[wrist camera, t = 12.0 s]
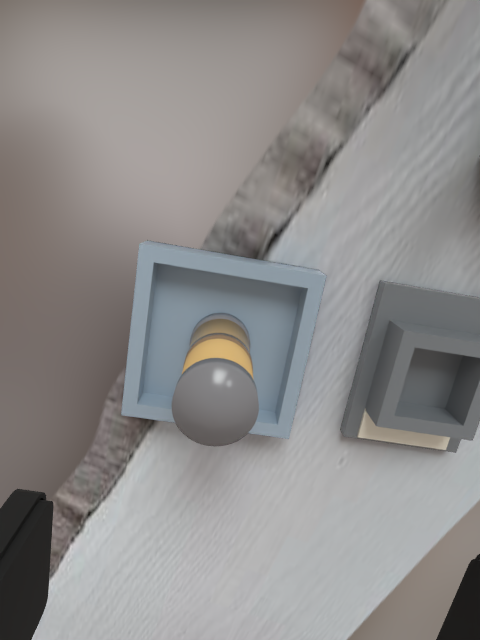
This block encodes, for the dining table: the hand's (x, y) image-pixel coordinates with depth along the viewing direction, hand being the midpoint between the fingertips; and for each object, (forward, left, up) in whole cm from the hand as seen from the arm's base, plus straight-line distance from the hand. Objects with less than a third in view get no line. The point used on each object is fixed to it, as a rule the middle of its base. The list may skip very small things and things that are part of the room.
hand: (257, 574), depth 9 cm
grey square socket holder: (+2, +14, -21) cm, 25 cm away
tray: (+2, -1, -21) cm, 21 cm away
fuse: (+2, -1, -21) cm, 21 cm away
